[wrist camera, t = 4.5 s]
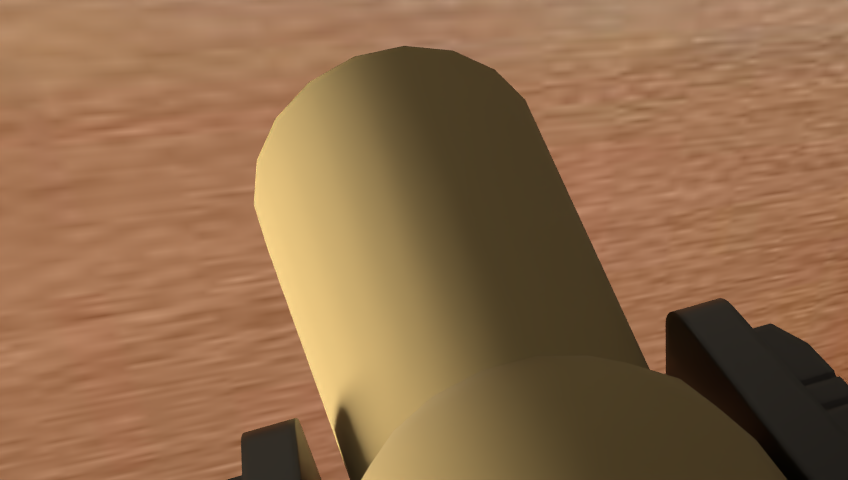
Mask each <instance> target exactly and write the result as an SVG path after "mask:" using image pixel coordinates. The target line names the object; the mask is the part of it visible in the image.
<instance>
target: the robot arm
mask: <svg viewBox="0 0 848 480" xmlns="http://www.w3.org/2000/svg"><path fill="white" fill-rule="evenodd" d="M666 375H669V376H672V377H676V378H679V379H681V380H682V381H684V382H685V383H686V384H688V385H689V386H690V387H692V388H693V389H694V390H696V391H697V392H698V393H699V394H701V395H702V396H703V397H705V398H706V399H707V400H709V401H710V402H711V403H713V404H714V405H715V406H717V407H718V408H719V409H720V410H721V411H723V412H724V413H725V414H726V415H727V416H729V417H730V418H731V419H732V420H733V421H734V422H736V423H737V424H738V425H739V426H740V427H742V428H743V429H744V430H745V431H746V432H747V433H749V434H750V435H751V436H752V437H753V438H755V439H756V440H757V442H758V443H759V444H760V446H761V447H762V448H763V449H764V451H765V452H766V453H767V454H768V456H769V457H770V458H771V459H772V461H773V462H774V463H775V465H776V466H777V467H778V468H779V470H780V471H781V472H782V473H783V475H784V476H785V477H786V478H787V480H848V385H847V383H846V382H845V381H844V380H843V379H842V378H841V377H840V376H839V377H836V375H835V373H834V370H833V369H832V368H831V367H830V366H829V365H828V364H827V363H826V362H825V361H824V360H823V359H822V357H821V356H820V355H819V354H818V353H817V352H816V351H815V350H814V349H813V348H812V347H811V346H810V345H809V344H808V343H806V342H805V341H803V340H801V339H799V338H797V337H795V336H793V335H791V334H790V333H788V332H786V331H784V330H782V329H780V328H778V327H776V326H775V325H773V324H767V325H764V326H760V327H757V328H752V327H751V326H750V325H749V324H748V322H747V321H746V320H745V319H744V318H743V317H742V316H741V315H740V314H739V312H738V311H737V310H736V309H735V308H734V307H733V306H732V305H731V304H730V303H729V302H728V301H727V300H725V299H722V298H719V299H715V300H712V301H708V302H705V303H701V304H698V305H694V306H691V307H687V308H684V309H680V310H677V311H673V312H670V313H669V314H668V315H667V318H666ZM241 453H242V475H241V476H238V477H235V478H231V479H228V480H321V477H320V475H319V472H318V469H317V467H316V464H315V461H314V459H313V456H312V453H311V451H310V448H309V445H308V443H307V440H306V438H305V435H304V432H303V430H302V427H301V425H300V422H299V421H298V419H297V418H294V419H291V420H287V421H284V422H280V423H277V424H273V425H270V426H266V427H263V428H259V429H256V430H252V431H249V432H245V433H243V434H242V438H241Z"/></svg>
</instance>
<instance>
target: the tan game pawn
mask: <svg viewBox="0 0 848 480" xmlns="http://www.w3.org/2000/svg"><path fill="white" fill-rule="evenodd" d="M254 206H255V210H256V213H257V216H258V219H259V223H260V226H261V229H262V232H263V236H264V239H265V242H266V245H267V248H268V251H269V254H270V256H271V259H272V262H273V265H274V268H275V270H276V273H277V276H278V279H279V282H280V284H281V287H282V290H283V293H284V296H285V298H286V301H287V304H288V307H289V310H290V312H291V315H292V318H293V321H294V324H295V326H296V329H297V332H298V335H299V338H300V340H301V343H302V346H303V349H304V352H305V354H306V357H307V360H308V363H309V366H310V368H311V371H312V374H313V377H314V380H315V382H316V385H317V388H318V391H319V394H320V396H321V399H322V402H323V405H324V408H325V410H326V413H327V416H328V419H329V422H330V424H331V427H332V430H333V433H334V436H335V438H336V441H337V444H338V447H339V450H340V452H341V455H342V458H343V461H344V464H345V466H346V469H347V472H348V475H349V478H350V480H787V478H786V477H785V476H784V475H783V473H782V472H781V471H780V470H779V468H778V467H777V466H776V465H775V463H774V462H773V461H772V459H771V458H770V457H769V456H768V454H767V453H766V452H765V451H764V449H763V448H762V447H761V446H760V444H759V443H758V442H757V440H756V439H755V438H753V437H752V436H751V435H750V434H749V433H747V432H746V431H745V430H744V429H743V428H742V427H740V426H739V425H738V424H737V423H736V422H734V421H733V420H732V419H731V418H730V417H729V416H727V415H726V414H725V413H724V412H723V411H721V410H720V409H719V408H718V407H717V406H715V405H714V404H713V403H711V402H710V401H709V400H707V399H706V398H705V397H703V396H702V395H701V394H699V393H698V392H697V391H696V390H694V389H693V388H692V387H690V386H689V385H688V384H686V383H685V382H684V381H682V380H681V379H679V378H676V377H672V376H669V375H666V374H662V373H659V372H656V371H652V370H650V369H649V367H648V365H647V363H646V361H645V358H644V356H643V354H642V352H641V350H640V348H639V345H638V343H637V341H636V339H635V337H634V335H633V332H632V330H631V328H630V326H629V324H628V322H627V319H626V317H625V315H624V313H623V311H622V309H621V306H620V304H619V302H618V300H617V298H616V296H615V293H614V291H613V289H612V287H611V285H610V283H609V280H608V278H607V276H606V274H605V272H604V270H603V267H602V265H601V263H600V261H599V259H598V257H597V254H596V252H595V250H594V248H593V246H592V244H591V241H590V239H589V237H588V235H587V233H586V231H585V228H584V226H583V224H582V222H581V220H580V218H579V215H578V213H577V211H576V209H575V207H574V205H573V202H572V200H571V198H570V196H569V194H568V192H567V190H566V187H565V185H564V183H563V181H562V179H561V177H560V174H559V172H558V170H557V168H556V166H555V164H554V161H553V159H552V157H551V155H550V153H549V151H548V148H547V146H546V144H545V142H544V140H543V138H542V135H541V133H540V131H539V129H538V127H537V125H536V122H535V120H534V118H533V116H532V114H531V112H530V109H529V107H528V105H527V103H526V101H525V99H524V98H523V97H522V96H521V95H520V94H519V93H518V92H517V91H516V90H515V89H514V88H513V87H512V86H511V85H510V84H509V83H508V82H507V81H506V80H505V79H504V78H503V77H502V76H501V75H499V74H498V73H497V72H496V71H495V70H494V69H492V68H490V67H488V66H485V65H483V64H481V63H479V62H477V61H474V60H472V59H470V58H468V57H466V56H463V55H461V54H459V53H457V52H455V51H451V50H440V49H430V48H420V47H410V46H402V47H397V48H392V49H388V50H383V51H378V52H374V53H369V54H365V55H360V56H355V57H353V58H351V59H349V60H347V61H346V62H344V63H342V64H340V65H339V66H337V67H335V68H333V69H332V70H330V71H328V72H326V73H325V74H323V75H321V76H319V77H318V78H316V79H314V80H312V81H311V82H309V83H308V84H307V85H306V86H305V87H304V88H303V90H302V91H301V92H300V93H299V94H298V95H297V96H296V97H295V98H294V99H293V100H292V101H291V103H290V104H289V105H288V106H287V107H286V108H285V109H284V110H283V111H282V112H281V113H280V114H279V116H278V117H277V118H276V119H275V121H274V123H273V126H272V128H271V130H270V132H269V135H268V137H267V139H266V141H265V144H264V146H263V148H262V150H261V153H260V155H259V157H258V159H257V165H256V180H255V195H254Z"/></svg>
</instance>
